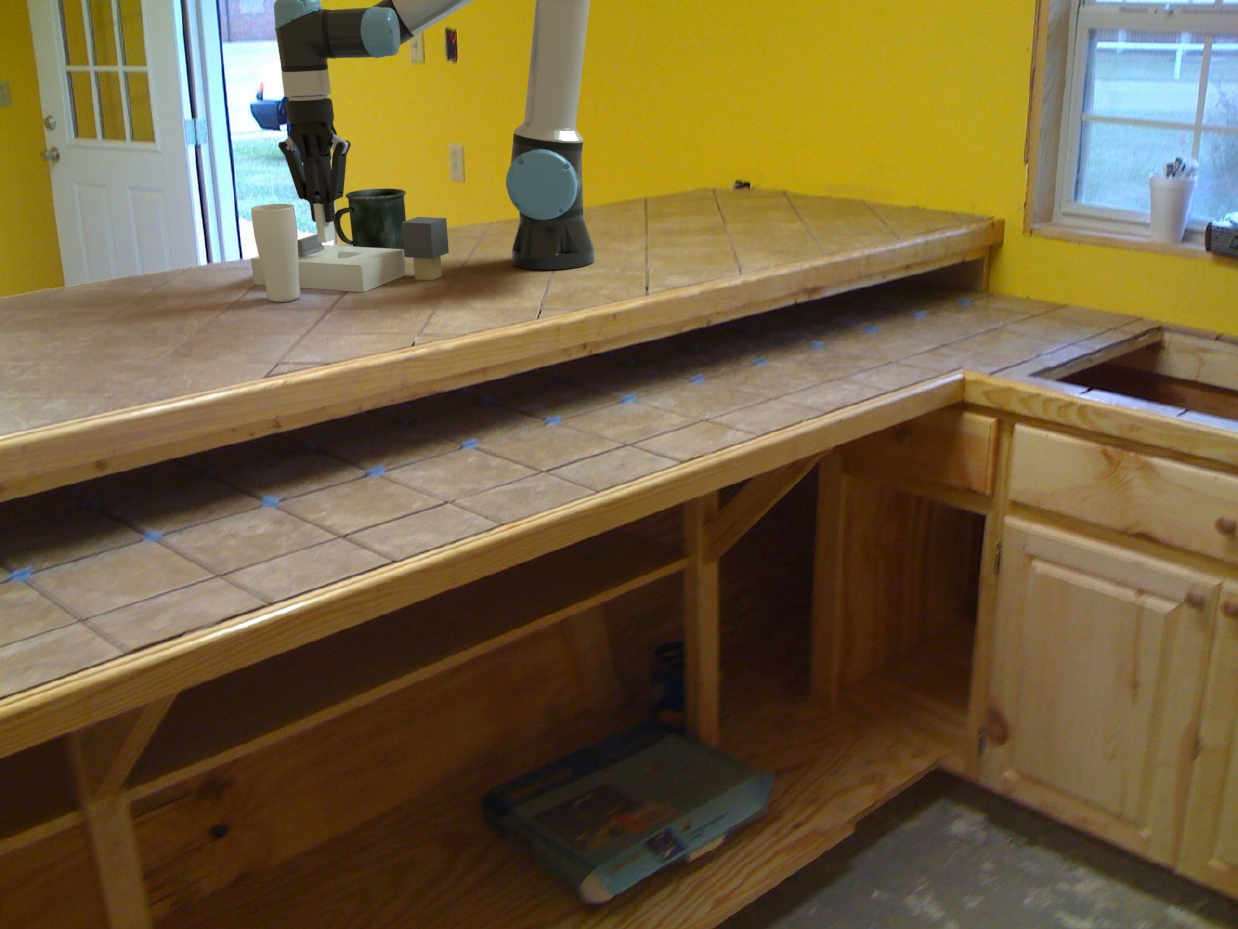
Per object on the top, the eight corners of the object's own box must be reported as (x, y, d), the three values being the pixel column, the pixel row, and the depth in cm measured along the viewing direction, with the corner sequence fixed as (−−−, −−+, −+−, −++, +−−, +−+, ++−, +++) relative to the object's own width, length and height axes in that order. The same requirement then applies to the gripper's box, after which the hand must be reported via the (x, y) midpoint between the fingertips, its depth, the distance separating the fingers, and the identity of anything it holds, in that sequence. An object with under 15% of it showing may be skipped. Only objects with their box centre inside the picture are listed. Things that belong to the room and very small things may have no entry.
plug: (450, 275, 210) (446, 218, 206) (434, 281, 205) (430, 223, 201) (422, 273, 211) (417, 216, 208) (406, 280, 207) (401, 222, 203)
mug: (422, 256, 226) (416, 192, 222) (353, 267, 218) (346, 201, 213) (392, 248, 234) (387, 186, 230) (325, 259, 225) (318, 195, 221)
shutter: (324, 249, 210) (322, 234, 209) (303, 256, 205) (301, 241, 204) (293, 247, 213) (291, 232, 212) (271, 254, 207) (269, 239, 206)
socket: (406, 274, 211) (404, 249, 209) (363, 292, 198) (361, 265, 197) (301, 268, 218) (298, 243, 216) (254, 284, 206) (250, 258, 204)
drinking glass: (283, 305, 191) (271, 211, 185) (253, 301, 194) (241, 208, 189) (314, 297, 196) (303, 205, 190) (285, 292, 199) (273, 202, 194)
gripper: (354, 95, 197) (370, 238, 205) (288, 96, 201) (307, 235, 210) (329, 99, 190) (346, 246, 199) (261, 100, 195) (281, 243, 203)
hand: (326, 240), depth 204 cm, fingers closed
